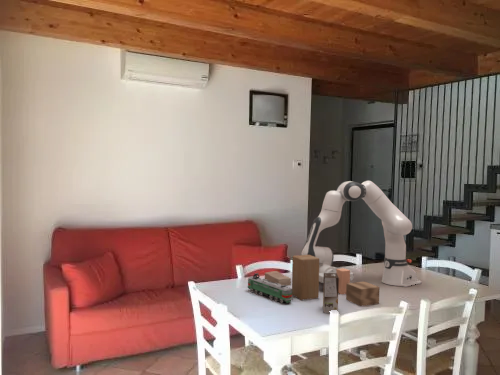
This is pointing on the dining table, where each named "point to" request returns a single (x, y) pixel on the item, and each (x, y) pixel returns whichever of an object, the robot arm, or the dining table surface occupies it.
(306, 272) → the wooden block
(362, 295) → the tower base
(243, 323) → the dining table surface
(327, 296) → the coffee box
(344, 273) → the terracotta block
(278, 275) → the brick
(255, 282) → the toy train
